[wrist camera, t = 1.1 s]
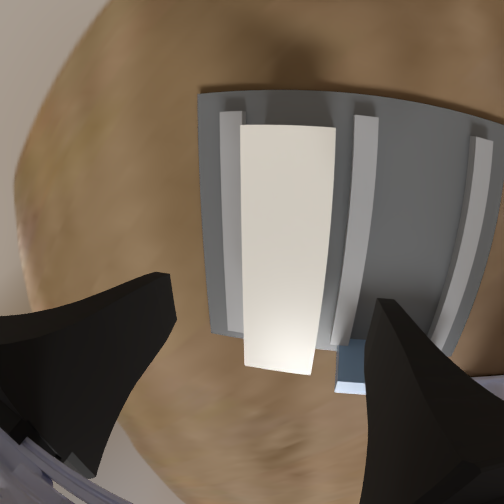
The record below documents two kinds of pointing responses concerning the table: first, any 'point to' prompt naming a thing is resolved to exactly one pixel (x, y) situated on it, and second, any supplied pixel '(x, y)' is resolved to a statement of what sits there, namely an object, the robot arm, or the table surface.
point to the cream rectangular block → (284, 241)
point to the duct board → (364, 212)
